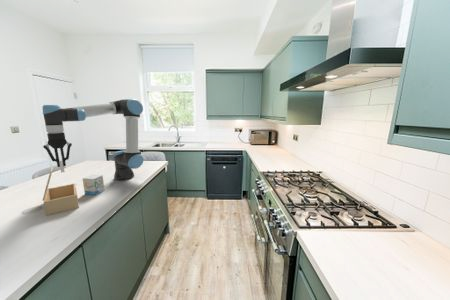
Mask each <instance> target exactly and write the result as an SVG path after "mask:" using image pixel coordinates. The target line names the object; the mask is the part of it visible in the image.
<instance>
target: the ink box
mask: <svg viewBox="0 0 450 300" xmlns="http://www.w3.org/2000/svg"><path fill="white" fill-rule="evenodd" d="M82 183H83V185H82V186H83V190H84V191H83V193H84V195H89V196H95V195H98V194H100V193H102V192H104V191H106V190H105V183H104V176H103V175H102V174H91V175H88V176H85V177H82Z"/></svg>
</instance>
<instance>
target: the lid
mask: <svg viewBox="0 0 450 300" xmlns="http://www.w3.org/2000/svg"><path fill="white" fill-rule="evenodd" d="M53 170H54V166H51V168H50V172H49V175H48V179H47V181H46V182H47V183H46V186H45V190H44V193H43V197H42V201H43V202H44V199H45V195H46V192H47V189H48V188H49V184H50V181H51V177H52V173H53Z"/></svg>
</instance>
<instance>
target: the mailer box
mask: <svg viewBox="0 0 450 300" xmlns="http://www.w3.org/2000/svg"><path fill="white" fill-rule="evenodd" d="M42 204H43V207H44V211H45V216H51V215H55V214H60V213H63V212H66V211H70V210H74V209H78V208H79V207H80V205H79V199H78V192H77V187H76V183H70V184H64V185H61V186H56V187H50V188H49V187H48V188H47V192H46V195H45V199H44V201H43V203H42Z"/></svg>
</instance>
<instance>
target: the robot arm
mask: <svg viewBox="0 0 450 300" xmlns="http://www.w3.org/2000/svg"><path fill="white" fill-rule="evenodd" d="M143 111H144V107H143V104H142V102H141V101H139V100H138V99H136V98H128V99H119V100H115V101H109V102H108V103H102V104H92V105H91V104H90V105H85V106H83V105H82V106H77V107H75V106H74V107H66V108H61V107H60V105H58V104H43V105H42V115H43V119H44V125H45V129H46V130H45V131H46V133H47V139H48V141H47V143H46V144H45V145H43V146H42V148H44V150H46V152H47V154H48V155H49V158H50V160H51V161H52V162H56V165H57V166H56V167H57V168H60V172H61V173H65V167H66V166H67V164H66V161H68V160H69V158H70V153H71V152H70V151H71V147H72V145H73V143H71V142H68V140H67V139H66V135H65V134H66V133H65V130H64V129H65V128H64V123H65V122H83V121H85V120H86V119H87V118H90V117H98V116H103V115H104V116H105V115H110V114H111V115H122V116H123V118H124V119H125V150H124V149H123V150H118V151H115V152H113V159H114V167H115V170H114V175H113V179H114V180H115V181H125V180H130V179H133V178H134V177H135V173H134V171H133V169H135V170H137V169H139V168H140V167H141V166H143V163H144V157H143V156H142V155H141V151H140V149H139V119H140V118H141V114H142V113H143ZM63 122H64V123H63ZM65 146H66V147H67V148H66V156H65V151H64V148H65ZM50 147H51V148H52V149H54V154H53V153H52V151H51V149H50ZM58 149H59V151H60V155H61V160H60V157H59V151H58ZM54 155H55V156H54Z"/></svg>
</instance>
